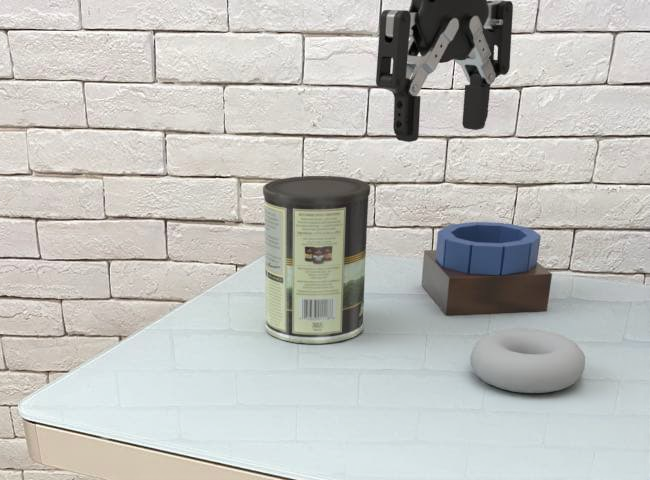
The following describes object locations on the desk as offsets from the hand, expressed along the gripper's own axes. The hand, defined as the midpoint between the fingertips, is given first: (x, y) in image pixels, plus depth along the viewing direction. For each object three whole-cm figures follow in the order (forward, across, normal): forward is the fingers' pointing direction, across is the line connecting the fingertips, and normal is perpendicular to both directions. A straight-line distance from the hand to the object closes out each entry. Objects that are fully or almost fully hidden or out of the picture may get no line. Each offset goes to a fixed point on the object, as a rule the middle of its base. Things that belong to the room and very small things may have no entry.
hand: (440, 134), depth 88 cm
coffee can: (+19, -8, +8) cm, 22 cm away
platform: (+19, +12, +4) cm, 23 cm away
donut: (+19, -2, -14) cm, 24 cm away
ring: (+15, +13, +4) cm, 20 cm away
